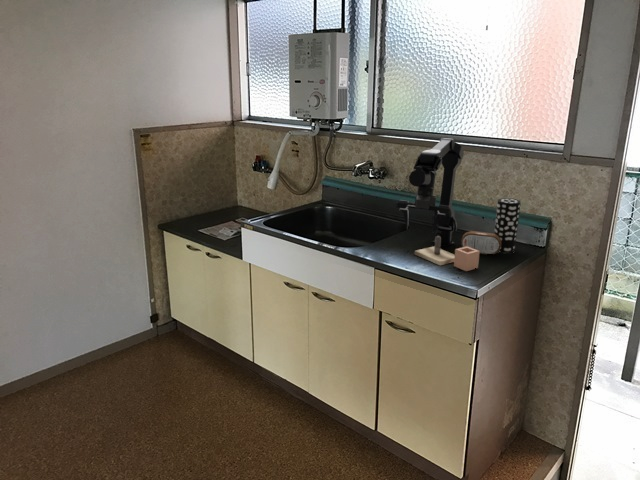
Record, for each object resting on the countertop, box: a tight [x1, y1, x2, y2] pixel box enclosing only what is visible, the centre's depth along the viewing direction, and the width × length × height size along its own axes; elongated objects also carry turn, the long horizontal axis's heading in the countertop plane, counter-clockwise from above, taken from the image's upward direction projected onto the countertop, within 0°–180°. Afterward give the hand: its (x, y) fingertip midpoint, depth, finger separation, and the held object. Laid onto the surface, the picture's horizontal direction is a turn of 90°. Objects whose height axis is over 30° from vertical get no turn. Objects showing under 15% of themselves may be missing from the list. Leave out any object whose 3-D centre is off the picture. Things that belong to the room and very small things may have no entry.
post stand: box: [414, 236, 455, 266], centre depth 197 cm, size 10×14×9 cm
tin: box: [460, 230, 501, 255], centre depth 202 cm, size 15×3×8 cm, turn 70°
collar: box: [453, 246, 480, 272], centre depth 188 cm, size 6×6×6 cm
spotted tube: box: [493, 197, 522, 253], centre depth 204 cm, size 8×8×20 cm
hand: (419, 230), depth 187 cm, fingers open, 9 cm apart
